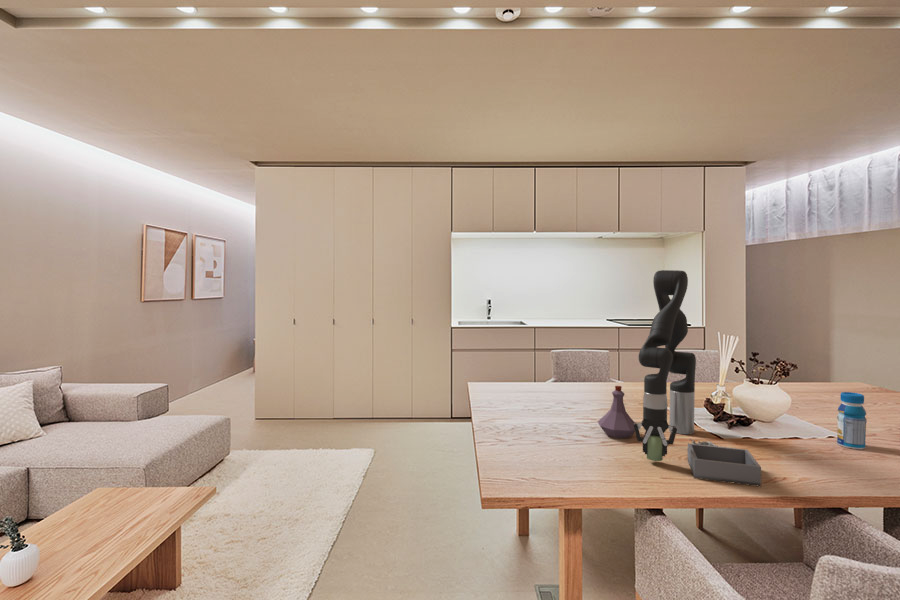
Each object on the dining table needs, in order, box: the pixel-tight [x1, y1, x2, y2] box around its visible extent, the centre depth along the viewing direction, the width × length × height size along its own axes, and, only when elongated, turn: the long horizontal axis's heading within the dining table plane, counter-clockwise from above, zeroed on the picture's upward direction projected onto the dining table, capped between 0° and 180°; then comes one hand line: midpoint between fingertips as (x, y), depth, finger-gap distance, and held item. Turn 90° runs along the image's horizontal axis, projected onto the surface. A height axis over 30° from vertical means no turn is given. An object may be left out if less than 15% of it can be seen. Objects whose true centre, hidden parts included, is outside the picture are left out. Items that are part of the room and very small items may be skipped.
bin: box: [687, 442, 762, 487], centre depth 151 cm, size 16×18×6 cm
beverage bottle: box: [836, 391, 867, 450], centre depth 175 cm, size 8×8×20 cm
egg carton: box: [689, 438, 717, 446], centre depth 169 cm, size 11×8×4 cm
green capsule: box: [646, 435, 664, 462], centre depth 159 cm, size 5×5×8 cm
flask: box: [597, 385, 635, 440], centre depth 189 cm, size 16×16×20 cm
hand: (654, 454), depth 159 cm, fingers closed on green capsule, 5 cm apart
